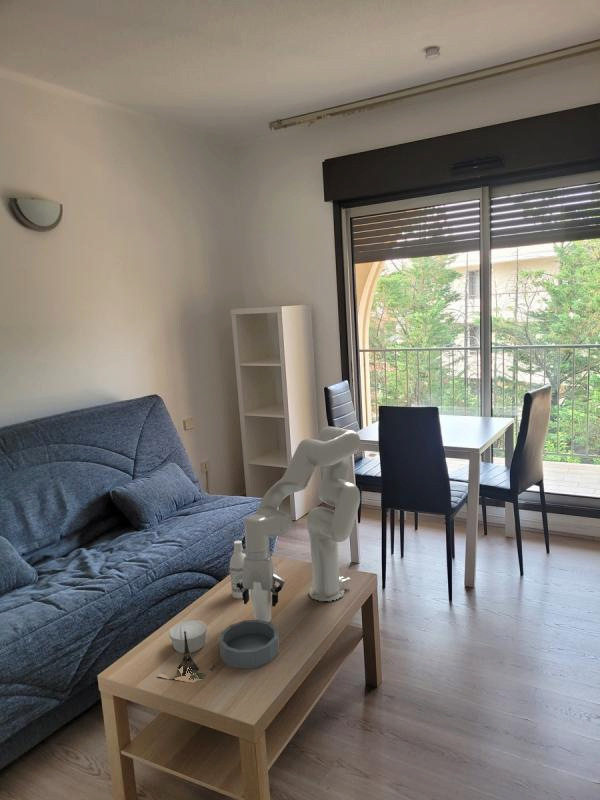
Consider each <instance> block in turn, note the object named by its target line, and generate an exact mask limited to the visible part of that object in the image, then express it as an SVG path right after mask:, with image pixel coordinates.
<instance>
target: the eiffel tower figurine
mask: <svg viewBox="0 0 600 800" xmlns="http://www.w3.org/2000/svg"><path fill="white" fill-rule="evenodd" d="M184 638H185V651H184V653H183V657H182V659H181V661H180V663H179V664H178V666H177V667H176V669H177V668H178V669H180V668H181V667H182V666H183V673H182V676H186V675H185V674H186V671H187V668H188V667H189V669H190V670H189V669H188V671H189V673H190V674H191V676H190V678H191V679H193V680H194V678H195V679H196V678H197V679H202V680H201V681H203V680H204V679H206V676H207V673H206V672H201V670H200V668H199V666H198V665H197V663H196V662H195V661H194V659H193V657H192V656H191V653H190V652H189V649H188V643H187V637H186V631H184ZM195 663H196V664H195ZM217 665H218V663H217V662H216V663H214V664H213V666H212V667H211V668H208V670H209V671H211V672H213V671H214V669H215V668H216V667H217ZM190 667H191V668H190ZM191 669H192V670H191ZM188 671H187V673H188ZM190 671H191V672H192V673H191V672H190ZM193 673H194V675H193ZM195 673H196V674H195ZM190 678H189V680H191V679H190Z"/></svg>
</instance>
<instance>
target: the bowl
mask: <svg viewBox="0 0 600 800" xmlns="http://www.w3.org/2000/svg"><path fill="white" fill-rule="evenodd" d="M218 645H219V647H218V648H219V657H220V659H221V660H222V661H223V662H224V664H225V666H230V667H233V668H236V669H239V670H243V669H255V668H256V669H257V668H260V667H261V666H264V665H266V664H269V663H271V662H272V661H273V660H274V659H275V658H276V657H277V656H278V655H279V654H280V636H279V628H277V627H276V626H275V625H274V624H273V623H272V622H266V621H262V620H255V619H248V620H247V619H246V620H245V619H244V620H240V621H239V622H236V623H232V624H230V625H229V626H227V627H226V628H225V629H224V630H223V631H221V632H220V634H219V640H218Z"/></svg>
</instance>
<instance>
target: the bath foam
mask: <svg viewBox="0 0 600 800" xmlns="http://www.w3.org/2000/svg"><path fill="white" fill-rule="evenodd" d="M242 549H243V542H242V540H235V541H233V551H234V552H233V554H232V556H231V557H230V560H229V570H230V571H229V574H230V583H231V595H232V597H233V598H234V599H242V600H243V596H242V592H241V590H240V589H239V588H238V587H237V584H236V583H235V581H234V578H235V577H236V576H238V575H240V574H242V573H243V561H244V558H245V557H246V554H244V553H242ZM240 582H242V579H240ZM248 590H249V597H250V596H251V590H250V589H248Z"/></svg>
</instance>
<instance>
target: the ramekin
mask: <svg viewBox="0 0 600 800" xmlns="http://www.w3.org/2000/svg"><path fill="white" fill-rule="evenodd" d="M207 628H208V626H207V624H206V623H205V622H204V621H200V620H193V619H192V620H186V621H181V622H179V623H178V624H176V625H174V626H173V627H172V628H171V629H170V631H169V638H170V639H171V642H172V646H173V649H174V650H176V651H177V652H178V653H180V654H184V651H185V638H184V631H186V637H187V643H188V649H189V652H190V654H191V653H194V652H197V651H199V650H201V648H203V646H204V645H205V643H206V639H207V638H206V637H207V631H208V629H207Z"/></svg>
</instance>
